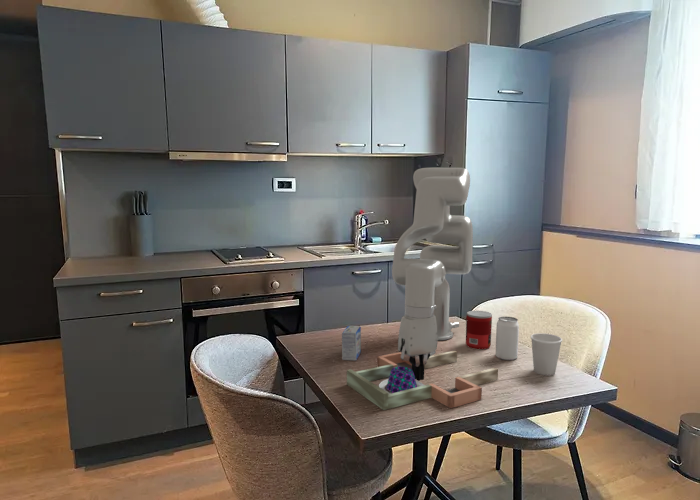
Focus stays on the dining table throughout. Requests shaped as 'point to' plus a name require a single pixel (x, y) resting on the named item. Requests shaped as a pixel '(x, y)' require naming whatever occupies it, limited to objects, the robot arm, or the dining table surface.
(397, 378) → the pudding
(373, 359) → the dining table surface
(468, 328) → the canned food
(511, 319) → the can
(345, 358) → the medicine box
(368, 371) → the track
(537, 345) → the dixie cup
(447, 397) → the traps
